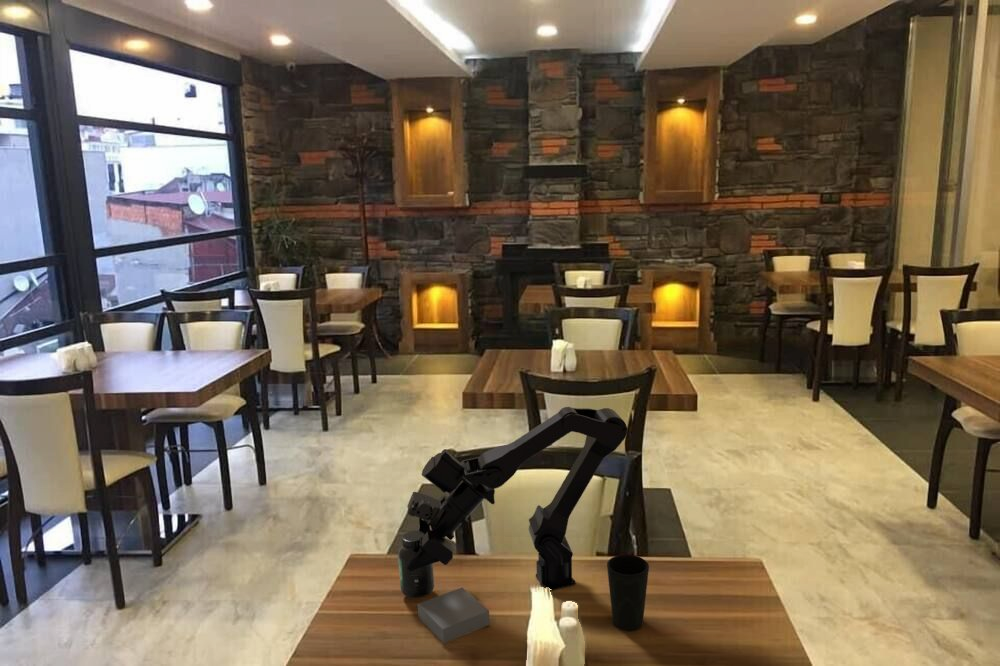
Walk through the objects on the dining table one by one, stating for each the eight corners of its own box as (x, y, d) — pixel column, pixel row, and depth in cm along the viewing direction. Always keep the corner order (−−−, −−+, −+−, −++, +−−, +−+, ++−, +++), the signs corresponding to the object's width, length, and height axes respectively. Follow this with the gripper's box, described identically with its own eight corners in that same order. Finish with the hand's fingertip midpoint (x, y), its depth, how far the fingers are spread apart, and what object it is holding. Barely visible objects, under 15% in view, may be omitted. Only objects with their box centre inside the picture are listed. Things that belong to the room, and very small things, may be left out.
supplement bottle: (397, 598, 149) (392, 543, 147) (405, 580, 156) (401, 527, 154) (430, 599, 149) (426, 544, 146) (437, 580, 155) (433, 527, 153)
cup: (648, 636, 136) (648, 577, 134) (606, 632, 138) (605, 573, 135) (648, 612, 144) (649, 555, 141) (608, 609, 145) (608, 553, 143)
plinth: (462, 600, 150) (462, 587, 149) (489, 624, 142) (489, 610, 141) (418, 618, 144) (417, 604, 144) (443, 643, 136) (442, 629, 136)
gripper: (427, 463, 157) (379, 516, 158) (431, 500, 139) (376, 561, 140) (467, 494, 160) (419, 547, 161) (475, 535, 141) (421, 594, 142)
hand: (408, 560), depth 151 cm, fingers closed on supplement bottle, 7 cm apart
